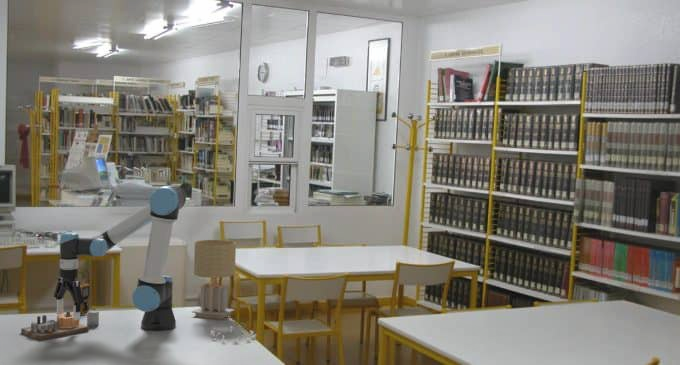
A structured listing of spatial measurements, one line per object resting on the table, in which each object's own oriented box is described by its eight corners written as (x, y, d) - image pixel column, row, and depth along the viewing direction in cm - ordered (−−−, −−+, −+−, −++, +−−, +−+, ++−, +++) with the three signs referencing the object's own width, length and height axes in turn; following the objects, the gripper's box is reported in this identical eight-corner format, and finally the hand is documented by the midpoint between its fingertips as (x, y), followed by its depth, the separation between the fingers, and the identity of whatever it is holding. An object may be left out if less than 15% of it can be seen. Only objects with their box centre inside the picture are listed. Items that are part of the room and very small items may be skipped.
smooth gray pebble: (100, 325, 336) (101, 312, 336) (90, 327, 332) (91, 313, 332) (94, 323, 339) (94, 310, 339) (84, 325, 335) (84, 311, 335)
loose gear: (83, 325, 327) (83, 316, 327) (64, 328, 320) (64, 319, 320) (72, 321, 333) (72, 312, 333) (53, 324, 326) (53, 315, 326)
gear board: (88, 331, 325) (88, 313, 325) (40, 340, 308) (40, 321, 308) (68, 324, 336) (69, 306, 335) (21, 333, 319) (21, 314, 318)
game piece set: (201, 341, 316) (201, 332, 316) (225, 330, 335) (225, 322, 335) (242, 347, 310) (242, 338, 310) (264, 336, 328) (264, 327, 328)
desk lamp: (241, 313, 368) (242, 241, 366) (222, 321, 350) (223, 246, 348) (205, 309, 374) (207, 238, 372) (185, 317, 356) (186, 243, 354)
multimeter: (91, 317, 351) (92, 274, 350) (72, 315, 353) (72, 273, 352) (107, 310, 365) (107, 269, 364) (88, 308, 367) (89, 268, 366)
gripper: (46, 265, 330) (45, 313, 331) (76, 273, 314) (75, 323, 315) (61, 263, 336) (61, 310, 337) (92, 271, 320) (91, 320, 321)
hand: (68, 316), depth 326 cm, fingers open, 13 cm apart
